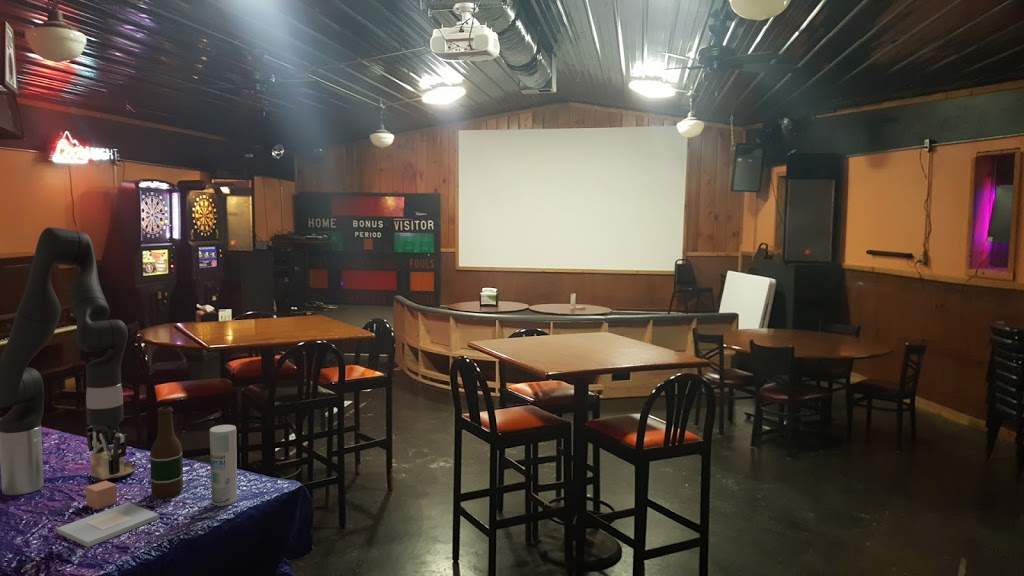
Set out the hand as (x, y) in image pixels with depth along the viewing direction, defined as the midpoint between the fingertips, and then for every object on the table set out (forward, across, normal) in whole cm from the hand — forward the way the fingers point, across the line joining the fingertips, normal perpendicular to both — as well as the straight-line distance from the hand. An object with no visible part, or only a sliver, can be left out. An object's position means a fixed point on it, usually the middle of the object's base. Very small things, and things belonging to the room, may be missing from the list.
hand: (107, 471), depth 160 cm
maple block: (+1, 0, 0) cm, 1 cm away
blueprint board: (+14, 0, 0) cm, 14 cm away
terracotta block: (+14, +14, -6) cm, 21 cm away
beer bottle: (+14, +6, -19) cm, 24 cm away
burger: (+14, +31, -19) cm, 39 cm away
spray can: (+14, -11, -24) cm, 30 cm away
